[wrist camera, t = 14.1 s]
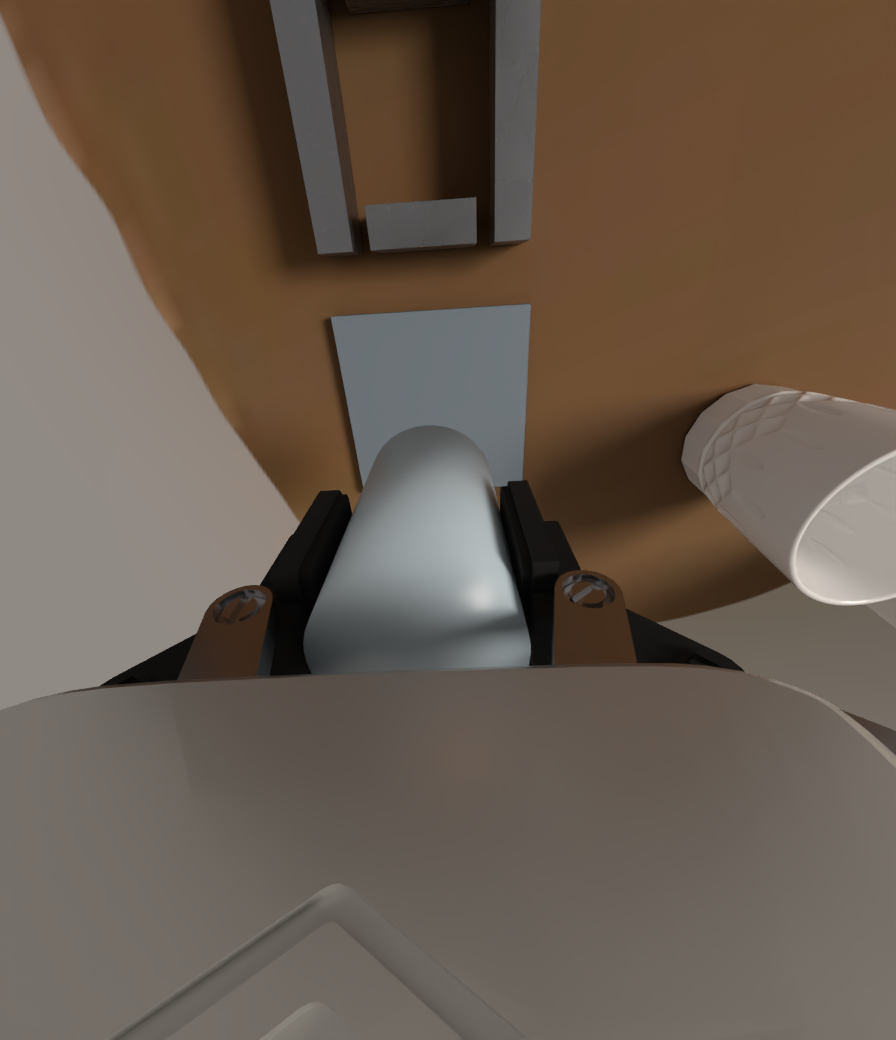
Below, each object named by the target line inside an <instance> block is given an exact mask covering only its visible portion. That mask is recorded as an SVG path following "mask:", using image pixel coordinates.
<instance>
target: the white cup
mask: <svg viewBox="0 0 896 1040" xmlns="http://www.w3.org/2000/svg"><path fill="white" fill-rule="evenodd" d="M681 461H682V464H683V466H684V469H685V472H686V474H687V477H688V479H689V480H690V481H691V482H692V483H693V484H694V485H695V486H696V487H697V488H698V489H699V490H700V491H702V492H703V493H704V494H705V495H706V496H707V497H708V499H709V500H710V501H711V503H712V504H713V505H714V506H715V508H716V509H717V510H718V511H719V512H720V513H721V514H722V515H723V516H724V517H726V518H727V519H728V520H729V522H730V523H731V524H732V525H733V526H734V527H735V528H736V529H737V530H738V531H739V532H740V533H741V534H742V535H743V536H744V537H745V538H746V539H747V540H748V541H749V542H750V543H751V544H752V545H753V546H754V547H755V548H756V549H757V550H759V551H760V552H761V553H762V554H763V555H764V556H765V557H766V558H767V559H768V560H769V561H770V562H771V563H772V564H773V565H774V566H775V567H776V568H777V569H778V570H779V571H780V572H782V573H783V574H784V575H785V576H786V577H787V578H788V579H789V580H790V581H791V582H792V583H793V584H794V585H795V586H796V587H797V588H798V589H799V590H800V591H801V592H802V593H804V594H805V595H807V596H808V597H810V598H812V599H814V600H817V601H820V602H823V603H828V604H835V605H861V604H869V603H875V602H880V601H884V600H888V599H892V598H895V597H896V410H893V409H889V408H885V407H881V406H876V405H872V404H867V403H860V402H856V401H852V400H848V399H843V398H838V397H833V396H829V395H824V394H820V393H815V392H802V391H798V390H795V389H791V388H787V387H783V386H773V385H762V384H753V385H750V386H747V387H744V388H741V389H739V390H736V391H733V392H730V393H727V394H725V395H724V396H722V397H721V398H720V399H718V400H717V401H716V402H715V403H713V404H712V405H711V406H709V407H708V408H707V409H706V410H704V411H703V412H702V413H701V414H700V415H699V417H698V418H697V420H696V421H695V423H694V424H693V426H692V427H691V429H690V430H689V432H688V434H687V435H686V437H685V441H684V447H683V452H682V458H681Z"/></svg>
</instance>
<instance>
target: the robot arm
mask: <svg viewBox="0 0 896 1040" xmlns="http://www.w3.org/2000/svg"><path fill="white" fill-rule="evenodd" d="M500 514H501V518H502V522H503V527H504V531H505V535H506V540H507V544H508V548H509V552H510V557H511V561H512V565H513V569H514V574H515V578H516V582H517V586H518V591H519V595H520V599H521V603H522V608H523V612H524V616H525V620H526V625H527V629H528V633H529V638H530V643H531V656H530V661H529V665H528V666H508V667H479V668H450V669H424V670H399V671H374V672H349V673H324V674H312V673H311V671H310V669H309V667H308V664H307V662H306V658H305V654H304V645H303V641H304V633H305V629H306V626H307V623H308V621H309V618H310V616H311V613H312V611H313V608H314V606H315V604H316V601H317V599H318V596H319V594H320V592H321V589H322V587H323V584H324V582H325V579H326V577H327V575H328V572H329V570H330V567H331V565H332V562H333V560H334V558H335V555H336V553H337V550H338V548H339V546H340V543H341V541H342V538H343V536H344V533H345V531H346V529H347V526H348V524H349V521H350V519H351V517H352V512H351V507H350V502H349V498H348V496H347V494H346V495H342V493H341V491H340V490H332V491H320V492H319V493H318V495H317V497H316V498H315V500H314V502H313V503H312V505H311V506H310V508H309V510H308V511H307V513H306V515H305V516H304V518H303V520H302V521H301V523H300V524H299V526H298V528H297V530H296V531H295V533H294V534H293V535H291V536H290V538H289V539H288V541H287V542H286V544H285V546H284V547H283V549H282V550H281V552H280V554H279V555H278V557H277V558H276V560H275V562H274V563H273V565H272V566H271V568H270V570H269V571H268V573H267V575H266V576H265V578H264V579H263V581H262V583H261V584H260V586H259V585H251V586H244V587H240V588H236V589H234V590H232V591H229V592H227V593H225V594H224V595H222V596H221V597H219V598H217V599H216V600H215V601H214V602H213V603H212V604H211V605H210V606H209V608H208V609H207V611H206V612H205V615H204V617H203V619H202V622H201V624H200V627H199V629H198V632H197V634H195V635H193V636H191V637H189V638H187V639H185V640H184V641H182V642H180V643H178V644H176V645H174V646H172V647H170V648H168V649H166V650H165V651H163V652H161V653H159V654H157V655H155V656H153V657H151V658H149V659H147V660H146V661H144V662H142V663H140V664H138V665H136V666H134V667H132V668H130V669H128V670H127V671H125V672H123V673H121V674H119V675H117V676H115V677H113V678H112V679H110V680H108V681H107V682H106V683H104V684H102V685H101V686H99V687H92V688H85V689H78V690H72V691H67V692H63V693H58V694H54V695H50V696H45V697H41V698H37V699H33V700H30V701H27V702H24V703H21V704H18V705H15V706H12V707H8V708H5V709H2V710H0V1040H896V731H894V730H892V729H890V728H887V727H885V726H882V725H880V724H877V723H874V722H872V721H869V720H867V719H864V718H862V717H859V716H856V715H854V714H851V713H849V712H846V711H844V710H841V709H838V708H837V707H835V706H834V705H832V704H831V703H829V702H827V701H825V700H823V699H821V698H819V697H818V696H816V695H814V694H811V693H809V692H807V691H804V690H801V689H799V688H797V687H794V686H791V685H788V684H785V683H783V682H779V681H776V680H773V679H769V678H765V677H762V676H757V675H753V674H750V673H746V672H744V670H743V669H742V668H741V667H739V666H738V665H737V664H735V662H733V661H732V660H731V659H729V658H727V657H725V656H724V655H722V654H720V653H718V652H716V651H714V650H712V649H710V648H708V647H706V646H704V645H701V644H699V643H697V642H695V641H693V640H691V639H689V638H687V637H685V636H683V635H680V634H678V633H676V632H674V631H672V630H670V629H667V628H666V627H664V626H661V625H659V624H657V623H655V622H653V621H651V620H649V619H647V618H645V617H643V616H640V615H638V614H636V613H634V612H632V611H630V610H628V609H626V607H625V602H624V597H623V593H622V591H621V589H620V587H619V586H618V585H617V584H616V583H615V582H614V581H613V580H612V579H610V578H608V577H607V576H605V575H602V574H600V573H597V572H593V571H587V570H581V569H580V567H579V565H578V563H577V561H576V558H575V556H574V554H573V552H572V550H571V548H570V546H569V544H568V541H567V539H566V537H565V535H564V533H563V531H562V529H561V527H560V524H559V523H558V521H545V522H544V521H543V519H542V516H541V514H540V511H539V509H538V506H537V504H536V501H535V499H534V497H533V494H532V492H531V489H530V487H529V484H528V482H527V480H522V481H508V483H507V486H501V491H500Z"/></svg>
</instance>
